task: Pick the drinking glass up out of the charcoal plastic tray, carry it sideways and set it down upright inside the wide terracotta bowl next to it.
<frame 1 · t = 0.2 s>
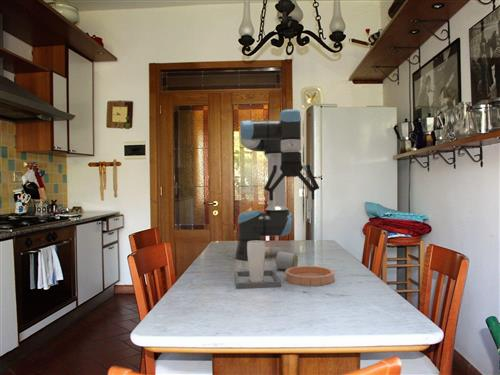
hand: (291, 209, 138), 27 cm above the table, tool pointing down, fingers open, 13 cm apart
bowl: (309, 279, 143), on the table
drinking glass: (256, 281, 142), resting in tray
tray: (256, 281, 142), on the table
ceramic mug: (287, 269, 161), on the table
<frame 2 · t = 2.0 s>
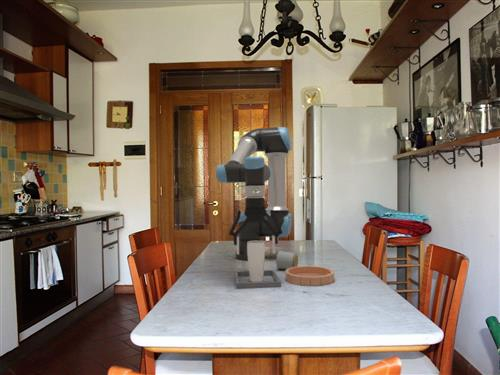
hand: (255, 253, 141), 11 cm above the table, tool pointing down, fingers open, 13 cm apart
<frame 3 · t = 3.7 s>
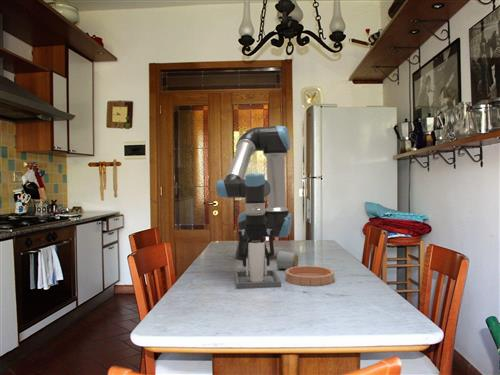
hand: (256, 274, 142), 2 cm above the table, tool pointing down, fingers closed on drinking glass, 6 cm apart
drinking glass: (256, 281, 142), resting in tray, touching gripper
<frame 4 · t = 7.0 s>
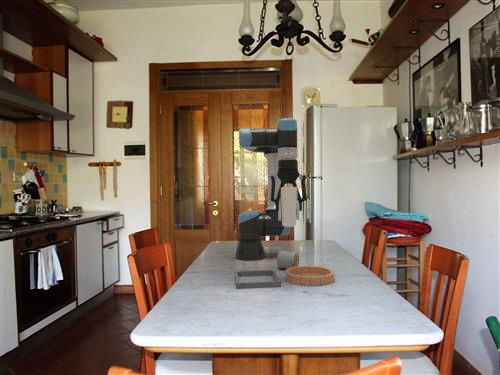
hand: (288, 219, 142), 23 cm above the table, tool pointing down, fingers closed on drinking glass, 6 cm apart
drinking glass: (288, 226, 142), point 20 cm above the table, touching gripper
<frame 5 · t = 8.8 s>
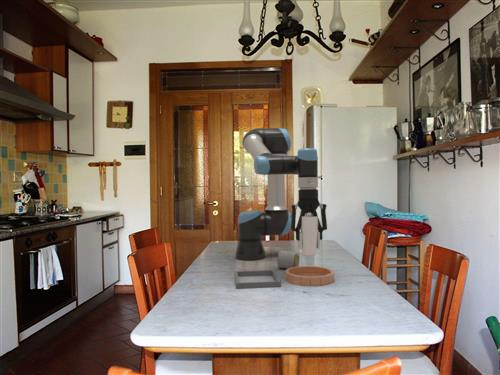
hand: (309, 248, 143), 12 cm above the table, tool pointing down, fingers closed on drinking glass, 6 cm apart
drinking glass: (309, 255, 143), point 9 cm above the table, touching gripper
when the fingers open (4 cm above the table, at t = 10.5 s): drinking glass drops 1 cm, resting on bowl.
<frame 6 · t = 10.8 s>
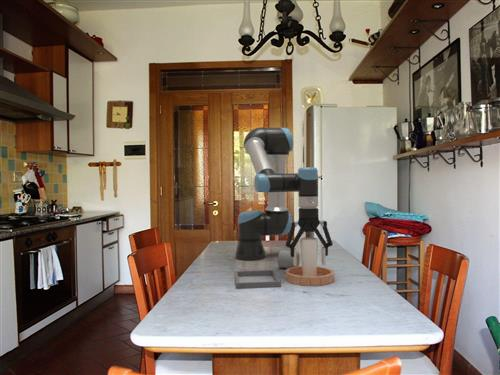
hand: (309, 264, 143), 5 cm above the table, tool pointing down, fingers open, 10 cm apart
drinking glass: (309, 277, 143), resting on bowl
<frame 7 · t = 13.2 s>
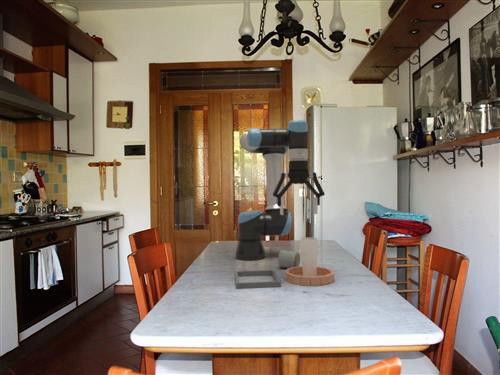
hand: (298, 214, 147), 25 cm above the table, tool pointing down, fingers open, 13 cm apart
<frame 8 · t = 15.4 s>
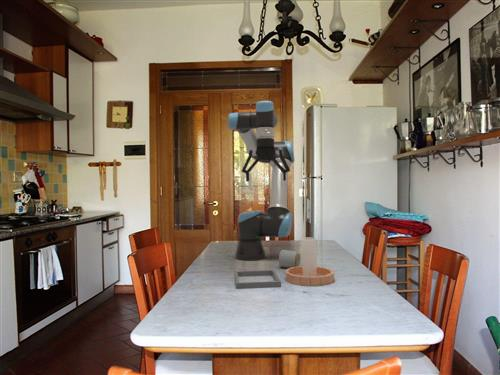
hand: (266, 189, 157), 35 cm above the table, tool pointing down, fingers open, 13 cm apart
at the end: drinking glass inside the target area on the bowl (0.0 cm from its centre), point 0.4 cm above the bowl's base; drinking glass tilted 0°; the gripper is holding nothing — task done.
